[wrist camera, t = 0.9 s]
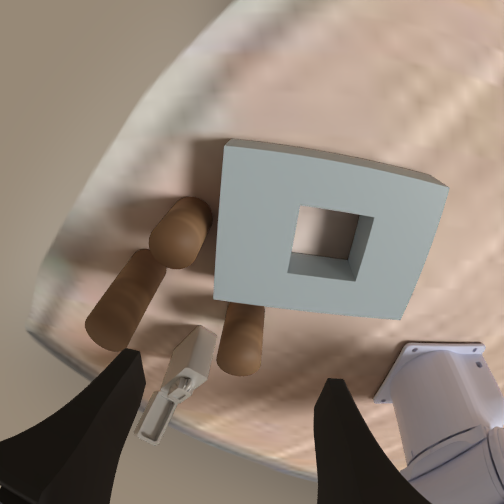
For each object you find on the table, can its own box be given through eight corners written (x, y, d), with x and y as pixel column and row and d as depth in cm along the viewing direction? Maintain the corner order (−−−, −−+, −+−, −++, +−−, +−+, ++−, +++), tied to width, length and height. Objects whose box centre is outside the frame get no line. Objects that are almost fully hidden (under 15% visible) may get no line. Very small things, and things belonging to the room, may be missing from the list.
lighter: (199, 324, 23) (173, 412, 16) (218, 336, 24) (198, 424, 17) (157, 365, 26) (130, 440, 19) (174, 375, 27) (150, 449, 20)
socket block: (430, 175, 17) (449, 187, 14) (390, 297, 21) (400, 320, 19) (231, 138, 17) (224, 145, 14) (219, 276, 21) (213, 299, 19)
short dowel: (214, 199, 18) (198, 226, 15) (211, 238, 20) (197, 272, 16) (171, 194, 19) (147, 220, 15) (171, 233, 20) (149, 265, 16)
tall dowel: (165, 251, 20) (124, 320, 14) (166, 284, 22) (131, 356, 16) (130, 246, 20) (80, 310, 14) (133, 278, 22) (90, 345, 16)
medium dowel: (267, 297, 22) (263, 350, 17) (262, 325, 23) (257, 378, 18) (229, 292, 22) (217, 344, 17) (226, 320, 23) (215, 372, 18)
